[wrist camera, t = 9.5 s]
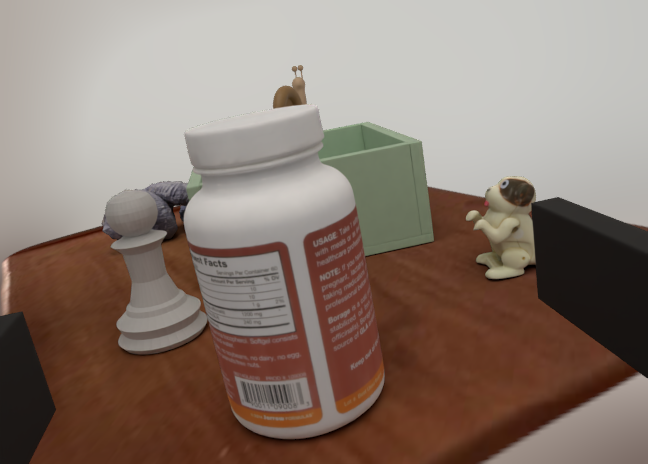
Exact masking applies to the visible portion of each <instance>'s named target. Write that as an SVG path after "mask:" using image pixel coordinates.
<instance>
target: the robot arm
mask: <svg viewBox="0 0 648 464" xmlns="http://www.w3.org/2000/svg"><path fill="white" fill-rule="evenodd" d="M531 208H532V222H533V235H534V248H535V261H536V275H537V288H538V298H539V299H540V300H541V301H543V302H544V303H545V304H547V305H548V306H550V307H551V308H552V309H554V310H555V311H556V312H558V313H559V314H560V315H562V316H563V317H565V318H566V319H567V320H569V321H570V322H571V323H573V324H574V325H575V326H577V327H578V328H580V329H581V330H582V331H584V332H585V333H586V334H588V335H589V336H590V337H592V338H593V339H595V340H596V341H597V342H599V343H600V344H601V345H603V346H604V347H605V348H607V349H608V350H610V351H611V352H612V353H614V354H615V355H616V356H618V357H619V358H620V359H622V360H623V361H625V362H626V363H627V364H629V365H630V366H631V367H633V368H634V369H635V370H637V371H638V372H639V373H641V374H642V375H644V376H645V377H646V378H648V231H645V230H642V229H640V228H637V227H635V226H632V225H629V224H627V223H624V222H621V221H619V220H616V219H614V218H611V217H608V216H606V215H603V214H601V213H598V212H595V211H593V210H590V209H588V208H585V207H582V206H580V205H577V204H574V203H572V202H569V201H567V200H564V199H562V198H559V197H557V198H552V199H548V200H543V201H538V202H533V203H531ZM55 411H56V408H55V405H54V402H53V399H52V396H51V393H50V390H49V388H48V385H47V382H46V379H45V376H44V373H43V370H42V367H41V364H40V361H39V358H38V356H37V353H36V350H35V347H34V344H33V341H32V338H31V335H30V332H29V329H28V327H27V324H26V321H25V318H24V315H23V312H18V313H13V314H8V315H4V316H0V464H29V462H30V460H31V458H32V456H33V454H34V452H35V450H36V448H37V446H38V444H39V442H40V440H41V438H42V436H43V434H44V432H45V430H46V428H47V426H48V424H49V422H50V420H51V418H52V417H53V415H54V413H55Z"/></svg>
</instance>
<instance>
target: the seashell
mask: <svg viewBox="0 0 648 464" xmlns="http://www.w3.org/2000/svg"><path fill="white" fill-rule="evenodd" d="M187 185H188V183H183V182H181V181H178V182H177V181H175V182H171V181H167V182H164V181H163V182H159V183H156V184H151V185H150V186H149V187H147V188H145V189H142V190H141V191H144V192H147V193H149V194H150V195H151V196H152V198H153V199H154V200H155V202H156V205H157V210H158V215H157V220H156V222H155V224H154V226H153V227H152V229H153V230H162V231H166V232H167V234H166V236H165V238H164V239H170V238H172V236H173V235H174V234H175V233H176V231H177V224H176V221H175V220H176V219H175V215H174V213H173V207H174V206H178V205H183V206H181V208H180V212H179V213H180V218H181V220H182V221H183V222H184V213H185V210H186V207H187V205H188V203H189V199H188V194H187V190H186V188H187ZM135 190H137V189H135ZM102 225H103V226H104V227H103V232H104V233H106V234H108V235H109V236H110V237H111V238H112V239H117V240H119V239H120V238H122V237H123V236H122V235H120V234H118V233H116V232H115V231H114V230H113V229H112V228H111V227H110V226H109V224H108V222H107V219H106V216H105V215H104V218H103V221H102Z"/></svg>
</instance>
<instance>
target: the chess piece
mask: <svg viewBox="0 0 648 464" xmlns="http://www.w3.org/2000/svg"><path fill="white" fill-rule="evenodd" d="M157 215H158V210H157V205H156V202H155V200H154V199H153V198H152V196H151V195H150V194H149V193H147V192H144V191H141V190H124V191H122V192H121V193H119V194H117V195H115V196H113V197H112V198H111V199H110V200H109V201H108V202H107V205H106V209H105V216H106V219H107V222H108V224H109V226H110V227H111V228H112V229H113V230H114V231H115V232H116V233H118V234H120V235H122V236H123V237H122V238H120V239H119V240H117V241H116V242H114V243H113V244H112V245H111V248H113V249H115V250H117V251H118V252H120V253H121V254H123V257H124V260H125V263H126V266H127V268H128V271H129V274H130V277H131V280H132V288H131V301H130V303H129V304H128V305H127V308H126V312H125V313H124V314H123V315H122V316H121V317H120V319H119V320H118V322H117V328H118V329H119V330H120V331H121V333H122V334H121V336H120V338H119V340H118V344H119V345H120V347H122V348H123V349H125V350H126V351H128V352H129V353H133V354H140V355H141V354H154V353H159V352H164V351H167V350H171V349H174V348H176V347H179V346H181V345H183V344H185V343H188V342H189V341H191V340H193V339H194V338H195V337H197V336H198V335H199V334H200V333H201V332H202V331H203V329H204V327H205V325H206V323H207V319H208V318H207V315H206V314H205V313H204V312H202V311H200V304H201V302H200V300H199V299H198V298H196V297H193V296H190V295H187V294H185V292H184V291H183V290H181V289H178V288H177V287H176V285H175V284H174V282H173V281H172V279H171V278H170V276H169V275H168V274H167V272H166V268H165V263H164V258H163V253H162V248H161V243H162V241H163V239H164V238H165V236H166V234H167V232H166V231H162V230H153V229H152V227H153V226H154V224H155V222H156V220H157Z"/></svg>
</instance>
